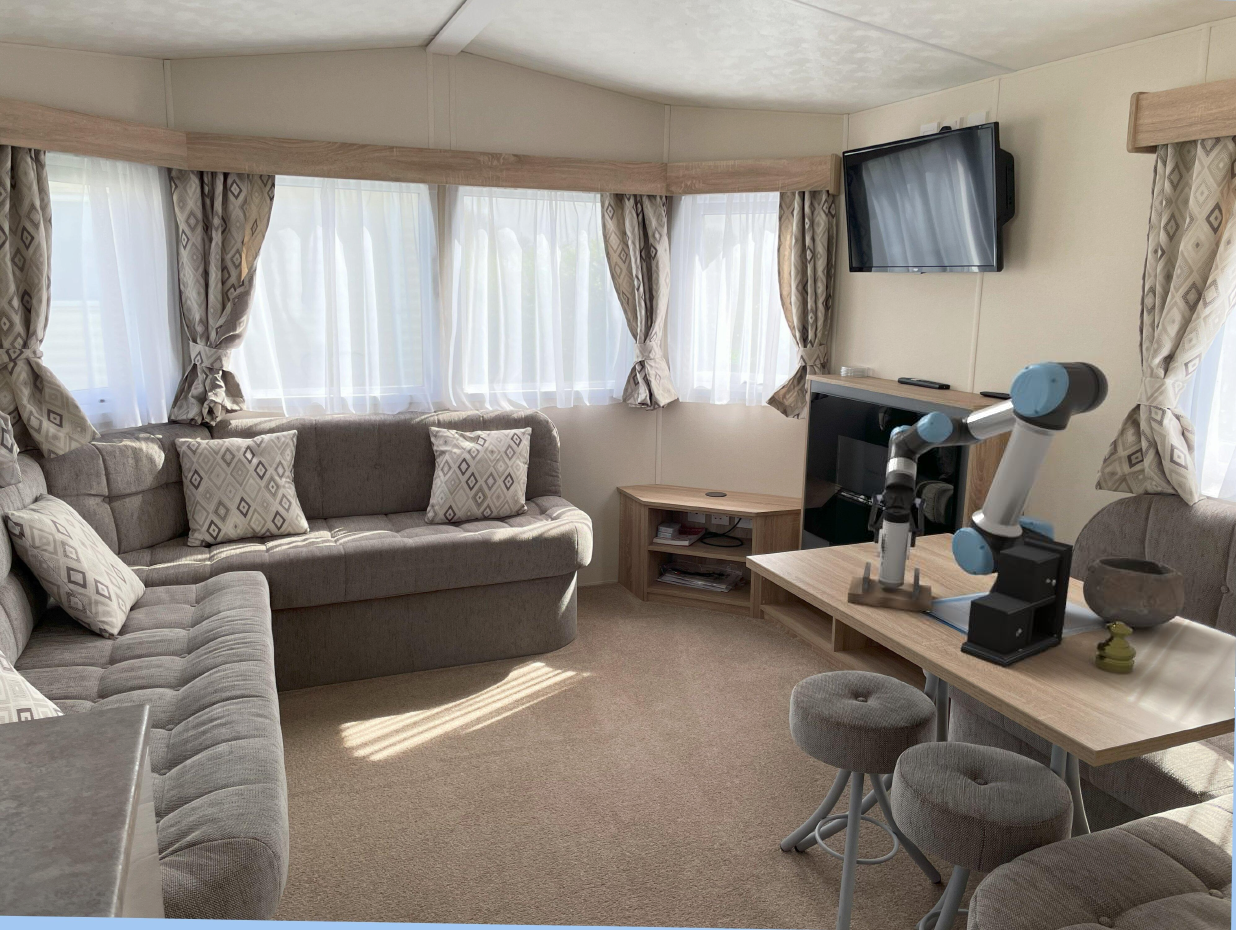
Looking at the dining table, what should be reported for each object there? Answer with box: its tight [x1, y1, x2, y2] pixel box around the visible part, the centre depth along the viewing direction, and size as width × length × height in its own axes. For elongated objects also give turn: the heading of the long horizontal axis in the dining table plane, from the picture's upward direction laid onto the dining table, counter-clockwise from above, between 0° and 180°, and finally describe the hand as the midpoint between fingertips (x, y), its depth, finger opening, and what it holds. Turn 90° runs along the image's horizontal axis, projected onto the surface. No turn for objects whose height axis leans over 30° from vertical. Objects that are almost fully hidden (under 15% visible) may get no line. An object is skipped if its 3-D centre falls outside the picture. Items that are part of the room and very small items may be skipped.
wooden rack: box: [847, 561, 933, 612], centre depth 231 cm, size 20×14×7 cm
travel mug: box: [877, 505, 911, 587], centre depth 229 cm, size 6×7×20 cm
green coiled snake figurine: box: [1094, 622, 1137, 675], centre depth 191 cm, size 7×7×10 cm
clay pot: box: [1082, 556, 1186, 628], centre depth 217 cm, size 21×21×15 cm
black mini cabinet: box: [960, 535, 1074, 668], centre depth 199 cm, size 23×11×24 cm, turn 126°
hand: (893, 555), depth 226 cm, fingers closed on travel mug, 6 cm apart
